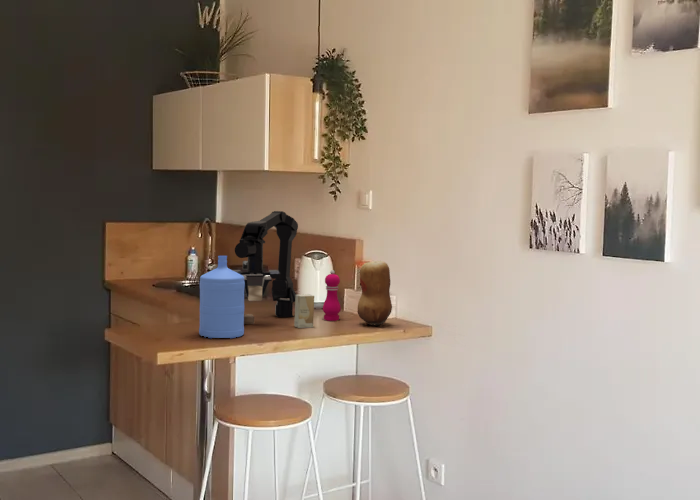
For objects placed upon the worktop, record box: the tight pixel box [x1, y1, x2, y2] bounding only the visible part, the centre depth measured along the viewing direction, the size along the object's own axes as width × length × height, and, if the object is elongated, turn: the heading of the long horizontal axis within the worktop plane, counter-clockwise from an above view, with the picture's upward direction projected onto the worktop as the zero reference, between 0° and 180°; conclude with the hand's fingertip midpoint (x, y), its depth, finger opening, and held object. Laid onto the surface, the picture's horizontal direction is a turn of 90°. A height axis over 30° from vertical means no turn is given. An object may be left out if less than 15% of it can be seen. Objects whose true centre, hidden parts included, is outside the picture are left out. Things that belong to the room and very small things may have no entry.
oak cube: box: [247, 285, 263, 302], centre depth 298 cm, size 5×5×5 cm
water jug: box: [198, 255, 245, 339], centre depth 276 cm, size 16×16×28 cm
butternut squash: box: [356, 260, 393, 326], centre depth 304 cm, size 14×13×25 cm
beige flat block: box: [244, 313, 255, 325], centre depth 304 cm, size 7×7×3 cm
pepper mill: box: [322, 269, 342, 322], centre depth 314 cm, size 7×7×20 cm
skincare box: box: [293, 293, 315, 329], centre depth 297 cm, size 6×4×12 cm
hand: (254, 297), depth 298 cm, fingers closed on oak cube, 5 cm apart
